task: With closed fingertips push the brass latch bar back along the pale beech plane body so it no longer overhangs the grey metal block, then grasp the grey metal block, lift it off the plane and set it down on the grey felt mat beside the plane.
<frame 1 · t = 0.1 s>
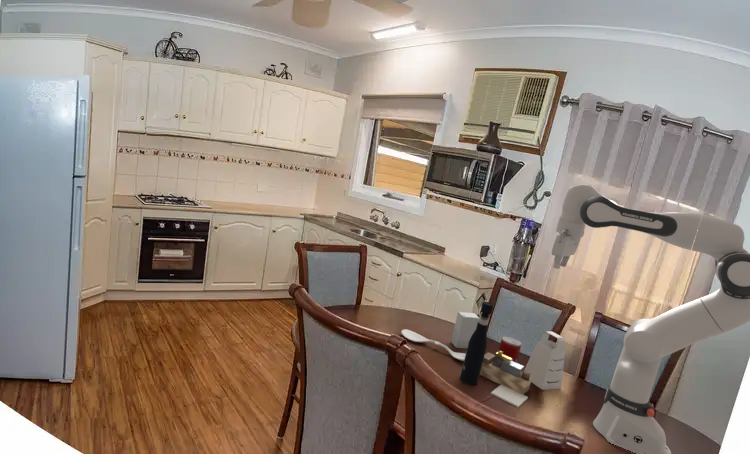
hand: (559, 267, 155), 48 cm above the table, tool pointing down, fingers open, 8 cm apart
grater: (541, 382, 172), on the table
felt mat: (509, 396, 154), on the table
latch bar: (503, 355, 165), point 10 cm above the table, slide at 0.0 cm
plane body: (502, 381, 165), on the table
spoon: (434, 349, 183), on the table
grey metal block: (510, 371, 163), point 5 cm above the table, touching plane body
wine bottle: (468, 380, 160), on the table
skincare box: (461, 346, 191), on the table
canned food: (505, 365, 181), on the table
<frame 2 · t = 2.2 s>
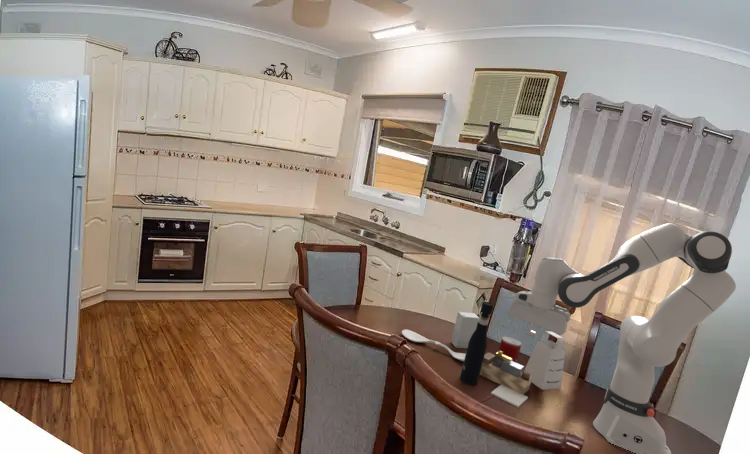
hand: (532, 336, 158), 21 cm above the table, tool pointing down, fingers closed
nothing on the table moved.
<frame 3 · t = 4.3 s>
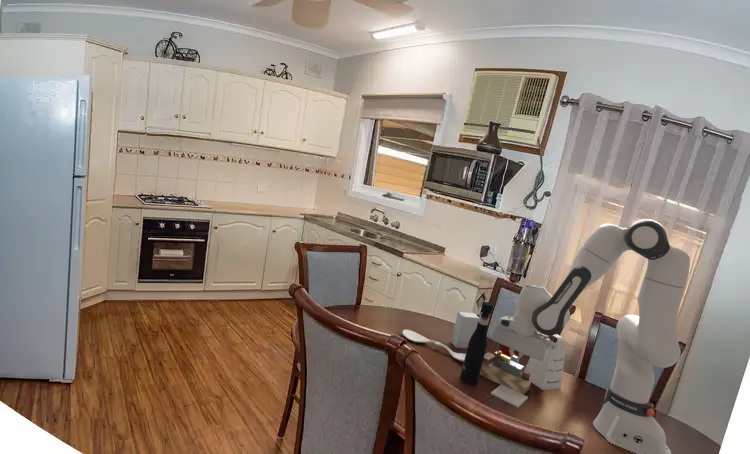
hand: (514, 361, 162), 9 cm above the table, tool pointing down, fingers closed
latch bar: (503, 355, 165), point 10 cm above the table, slide at 0.3 cm, touching gripper
everything else where it was.
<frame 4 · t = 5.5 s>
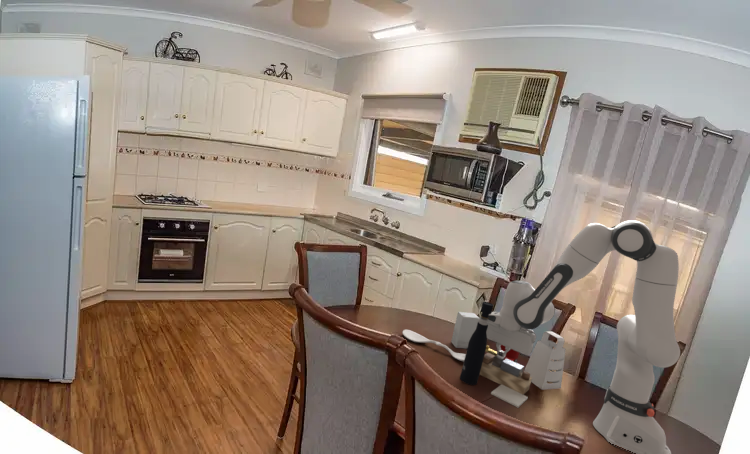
hand: (501, 355, 165), 9 cm above the table, tool pointing down, fingers closed
latch bar: (490, 349, 168), point 10 cm above the table, slide at 5.5 cm, touching gripper
everything else where it was.
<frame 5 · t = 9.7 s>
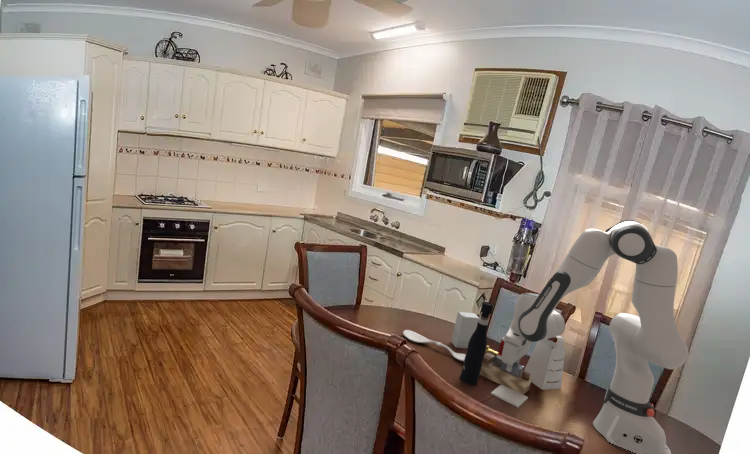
hand: (511, 368, 163), 6 cm above the table, tool pointing down, fingers closed on grey metal block, 4 cm apart
latch bar: (490, 349, 168), point 10 cm above the table, slide at 5.5 cm
grey metal block: (510, 371, 163), point 5 cm above the table, touching gripper, plane body
everything else where it was.
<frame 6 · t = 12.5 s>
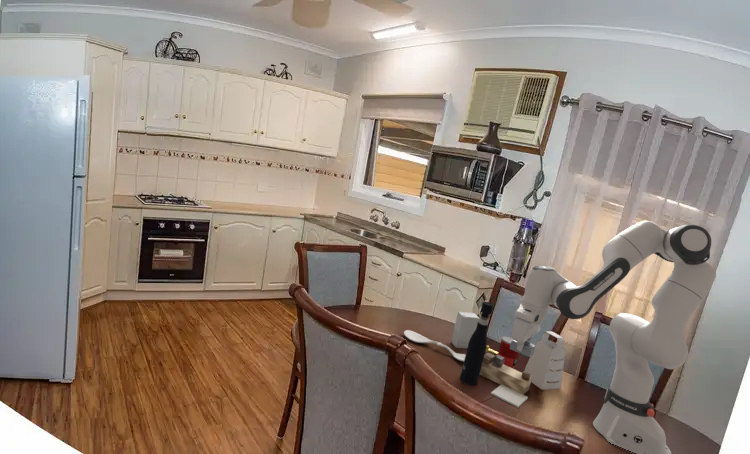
hand: (522, 348, 151), 18 cm above the table, tool pointing down, fingers closed on grey metal block, 4 cm apart
grey metal block: (521, 351, 152), point 17 cm above the table, touching gripper
when the fingers open (5 cm above the table, at t = 15.2 s): grey metal block drops 3 cm, resting on felt mat.
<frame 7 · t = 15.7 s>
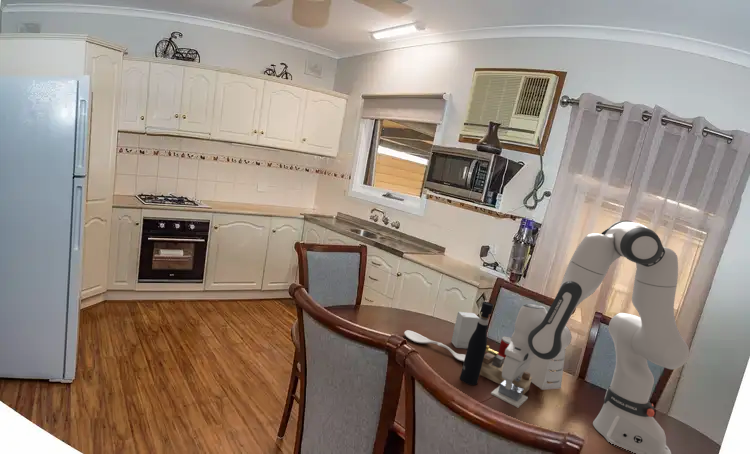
hand: (512, 384, 153), 5 cm above the table, tool pointing down, fingers open, 8 cm apart
grey metal block: (509, 394, 154), point 1 cm above the table, touching felt mat
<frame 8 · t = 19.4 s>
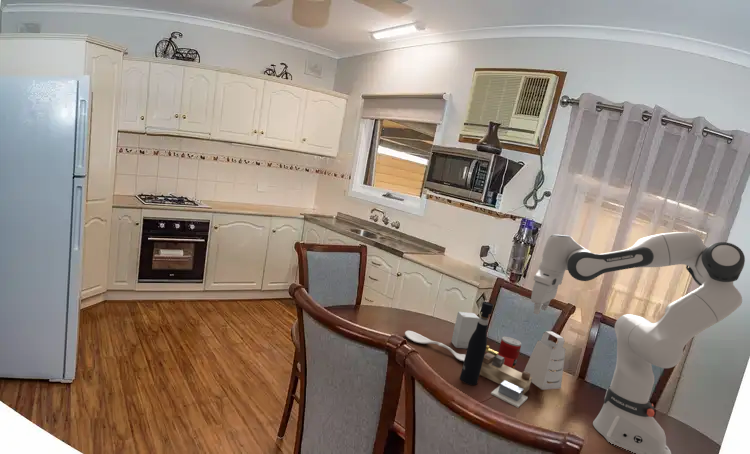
hand: (540, 311, 162), 29 cm above the table, tool pointing down, fingers open, 8 cm apart
at the end: latch bar slide at 5.5 cm; grey metal block inside the target area (0.0 cm from its centre), point 0.6 cm above the table; grey metal block tilted 0° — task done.
